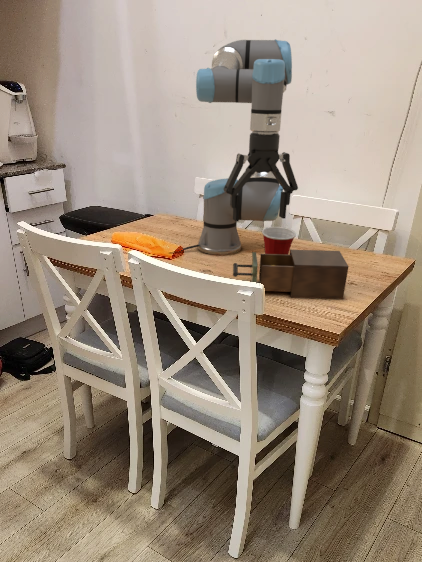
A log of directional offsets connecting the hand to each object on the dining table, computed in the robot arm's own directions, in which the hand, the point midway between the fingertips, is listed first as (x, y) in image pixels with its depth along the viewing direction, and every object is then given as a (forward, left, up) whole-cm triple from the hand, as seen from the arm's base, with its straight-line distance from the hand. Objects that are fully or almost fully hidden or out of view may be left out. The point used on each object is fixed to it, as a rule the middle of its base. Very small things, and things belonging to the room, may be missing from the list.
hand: (259, 218), depth 132 cm
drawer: (+3, 0, -19) cm, 19 cm away
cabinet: (+17, 0, -20) cm, 26 cm away
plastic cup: (+7, +17, -20) cm, 28 cm away
